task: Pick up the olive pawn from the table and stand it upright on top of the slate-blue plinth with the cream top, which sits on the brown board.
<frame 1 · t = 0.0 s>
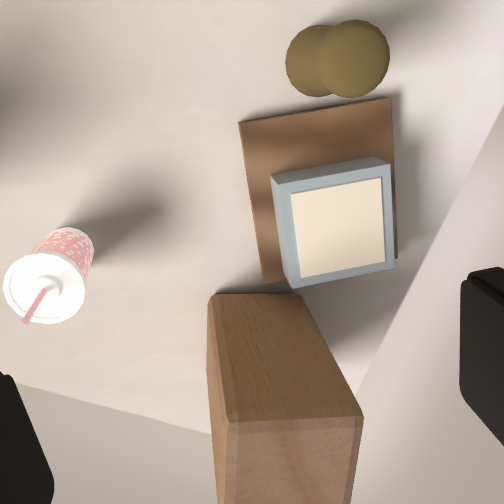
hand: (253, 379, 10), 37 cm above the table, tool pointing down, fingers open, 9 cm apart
beverage cup: (69, 249, 46), on the table
slate plinth: (322, 211, 48), resting on brown board
brown board: (320, 192, 47), on the table
olive pawn: (317, 62, 43), on the table
block: (252, 330, 52), on the table
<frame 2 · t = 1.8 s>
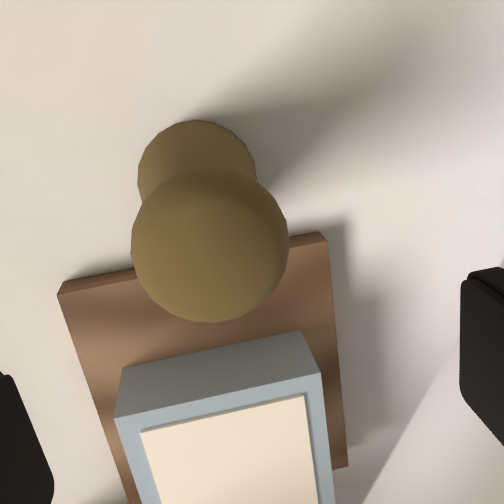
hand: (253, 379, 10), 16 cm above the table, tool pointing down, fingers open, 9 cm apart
slate plinth: (225, 402, 30), resting on brown board
brown board: (219, 376, 29), on the table
olive pawn: (197, 180, 25), on the table
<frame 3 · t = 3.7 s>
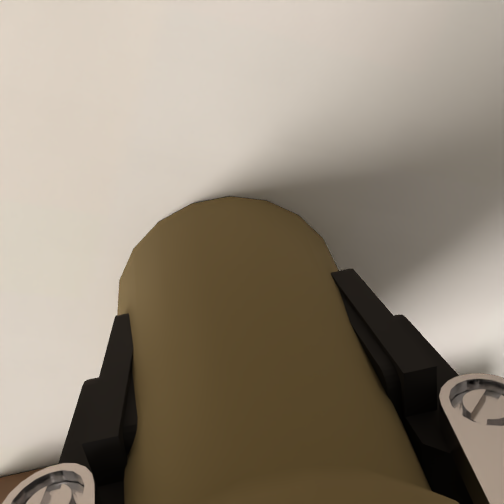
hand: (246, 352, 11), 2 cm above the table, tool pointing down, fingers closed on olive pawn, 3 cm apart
olive pawn: (231, 301, 13), on the table, touching gripper
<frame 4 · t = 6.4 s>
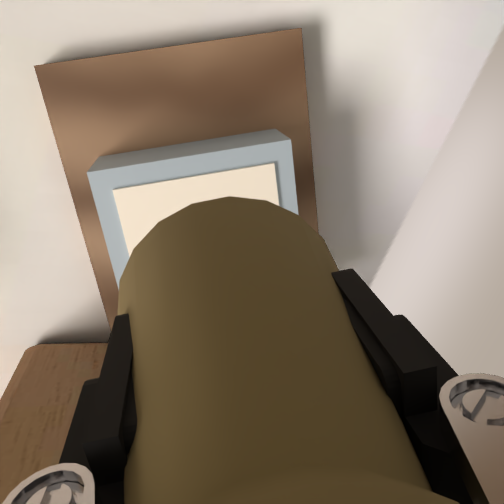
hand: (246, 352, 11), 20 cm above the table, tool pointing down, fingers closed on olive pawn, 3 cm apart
slate plinth: (202, 217, 30), resting on brown board
brown board: (196, 187, 29), on the table
olive pawn: (231, 301, 13), point 17 cm above the table, touching gripper
block: (106, 395, 34), on the table
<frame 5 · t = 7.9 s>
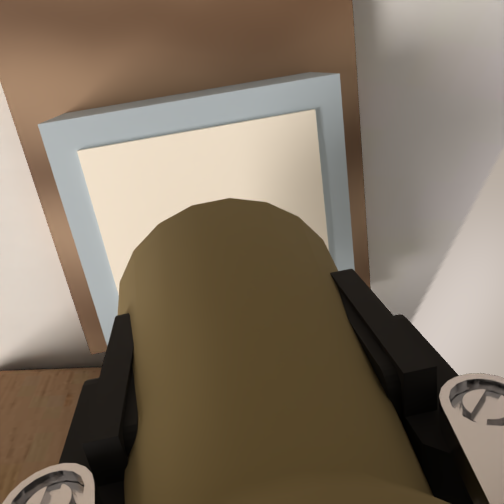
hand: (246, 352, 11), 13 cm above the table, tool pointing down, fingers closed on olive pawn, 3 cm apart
slate plinth: (210, 200, 23), resting on brown board
brown board: (202, 158, 22), on the table
olive pawn: (231, 303, 13), point 10 cm above the table, touching gripper
block: (90, 434, 27), on the table
when the fingers open (9 cm above the table, at t = 9.3 s): olive pawn stays where it is, resting on slate plinth.
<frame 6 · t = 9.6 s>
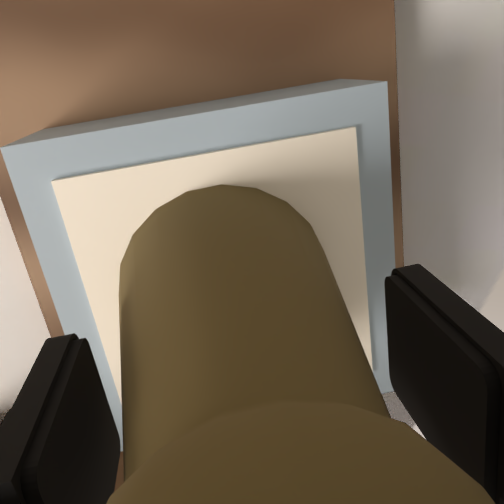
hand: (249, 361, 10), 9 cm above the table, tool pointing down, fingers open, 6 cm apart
slate plinth: (218, 229, 19), resting on brown board
brown board: (209, 181, 18), on the table
olive pawn: (225, 284, 14), point 6 cm above the table, touching slate plinth
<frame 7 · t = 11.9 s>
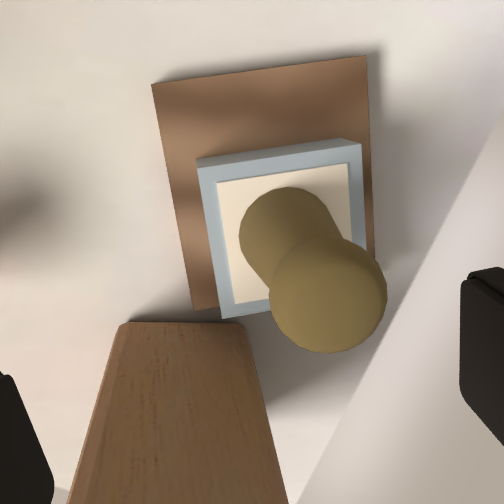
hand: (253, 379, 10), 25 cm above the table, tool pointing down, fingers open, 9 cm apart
slate plinth: (273, 213, 35), resting on brown board
brown board: (270, 187, 35), on the table
olive pawn: (285, 233, 30), point 6 cm above the table, touching slate plinth
block: (181, 371, 39), on the table
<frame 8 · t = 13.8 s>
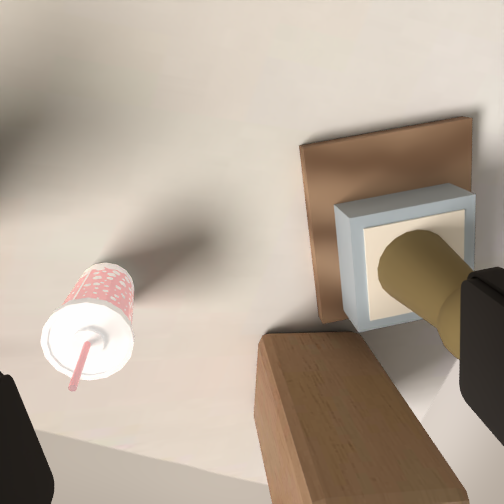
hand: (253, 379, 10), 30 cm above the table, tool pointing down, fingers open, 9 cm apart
beverage cup: (107, 286, 41), on the table
slate plinth: (387, 242, 43), resting on brown board
brown board: (386, 222, 42), on the table
olive pawn: (412, 264, 38), point 6 cm above the table, touching slate plinth
block: (304, 371, 47), on the table
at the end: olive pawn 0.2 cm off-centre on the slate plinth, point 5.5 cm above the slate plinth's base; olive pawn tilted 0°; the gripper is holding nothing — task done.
